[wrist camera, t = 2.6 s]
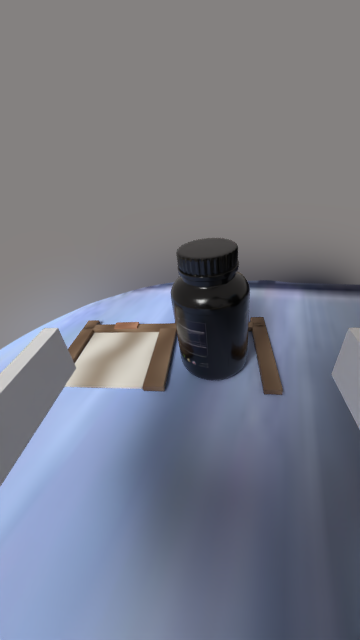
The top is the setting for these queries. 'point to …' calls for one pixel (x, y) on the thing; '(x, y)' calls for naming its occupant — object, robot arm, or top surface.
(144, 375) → the flat wooden frame
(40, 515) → the top surface
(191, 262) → the supplement bottle
